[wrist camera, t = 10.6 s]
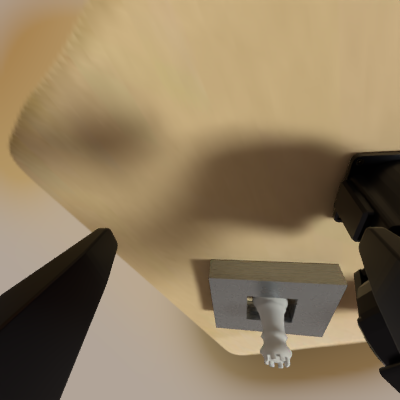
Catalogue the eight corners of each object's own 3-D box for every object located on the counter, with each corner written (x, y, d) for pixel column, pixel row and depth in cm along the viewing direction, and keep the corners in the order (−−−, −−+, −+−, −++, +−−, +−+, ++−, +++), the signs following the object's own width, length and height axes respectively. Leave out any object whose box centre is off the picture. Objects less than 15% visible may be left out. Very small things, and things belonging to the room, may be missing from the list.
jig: (338, 264, 24) (347, 285, 22) (316, 317, 31) (322, 337, 29) (210, 259, 26) (208, 278, 24) (217, 310, 34) (216, 327, 32)
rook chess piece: (271, 303, 30) (280, 374, 24) (244, 291, 30) (246, 362, 23) (294, 289, 28) (311, 365, 22) (265, 276, 27) (273, 350, 21)
